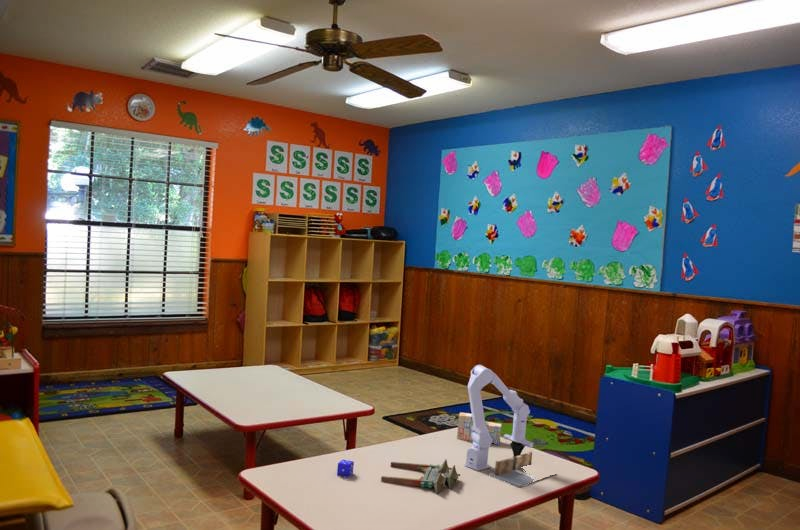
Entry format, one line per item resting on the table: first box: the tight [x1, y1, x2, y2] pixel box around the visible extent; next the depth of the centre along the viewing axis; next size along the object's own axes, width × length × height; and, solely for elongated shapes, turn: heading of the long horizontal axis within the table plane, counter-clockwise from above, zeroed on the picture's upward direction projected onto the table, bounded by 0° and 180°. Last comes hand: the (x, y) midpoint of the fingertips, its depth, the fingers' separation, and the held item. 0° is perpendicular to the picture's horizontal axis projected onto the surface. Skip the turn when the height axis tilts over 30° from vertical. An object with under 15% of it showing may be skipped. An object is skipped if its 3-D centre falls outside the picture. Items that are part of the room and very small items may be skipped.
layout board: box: [487, 467, 537, 488], centre depth 261 cm, size 28×16×1 cm, turn 134°
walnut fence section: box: [494, 455, 516, 476], centre depth 261 cm, size 14×2×6 cm, turn 134°
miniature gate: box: [380, 459, 461, 495], centre depth 247 cm, size 27×6×30 cm
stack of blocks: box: [456, 411, 502, 445], centre depth 306 cm, size 21×6×12 cm, turn 77°
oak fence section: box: [515, 451, 533, 469], centre depth 270 cm, size 12×2×5 cm, turn 134°
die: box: [336, 459, 355, 478], centre depth 245 cm, size 5×5×5 cm
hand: (516, 459), depth 272 cm, fingers closed
